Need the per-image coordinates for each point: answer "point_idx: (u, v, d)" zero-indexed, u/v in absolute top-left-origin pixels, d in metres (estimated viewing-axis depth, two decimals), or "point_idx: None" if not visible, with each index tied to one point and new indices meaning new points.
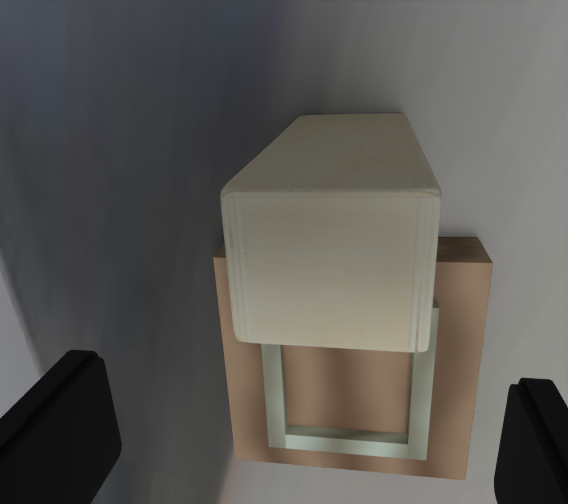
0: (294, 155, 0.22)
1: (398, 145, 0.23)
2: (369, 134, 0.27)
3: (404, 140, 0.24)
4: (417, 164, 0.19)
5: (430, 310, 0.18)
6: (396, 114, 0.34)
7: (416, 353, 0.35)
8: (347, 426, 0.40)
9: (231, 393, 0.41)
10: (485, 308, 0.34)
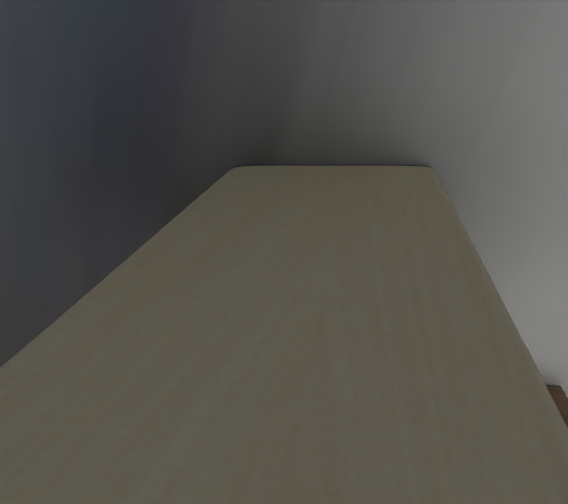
0: (44, 462, 0.05)
1: (465, 378, 0.06)
2: (362, 267, 0.10)
3: (473, 326, 0.08)
4: None
5: None
6: (418, 171, 0.17)
7: None
8: None
9: None
10: None
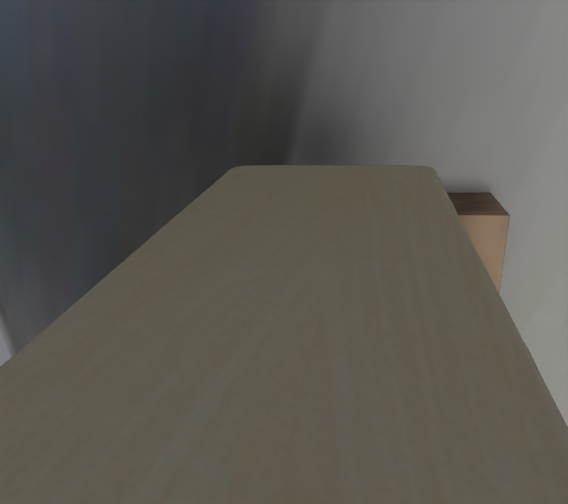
0: (44, 461, 0.05)
1: (465, 378, 0.06)
2: (362, 266, 0.10)
3: (473, 325, 0.08)
4: None
5: None
6: (418, 171, 0.17)
7: None
8: None
9: None
10: (500, 269, 0.30)
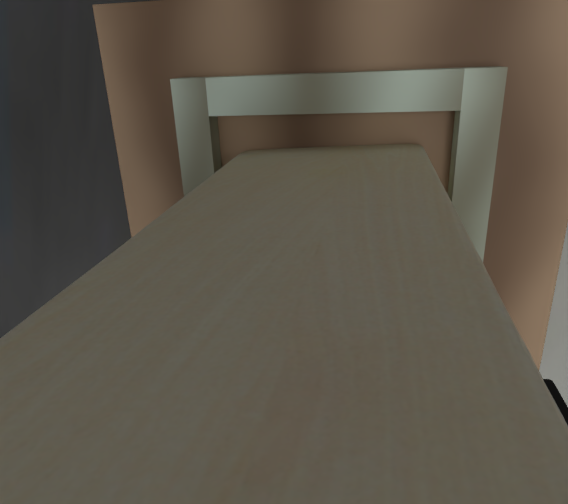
0: (121, 325, 0.07)
1: (427, 272, 0.08)
2: (354, 213, 0.12)
3: (439, 243, 0.10)
4: (533, 458, 0.05)
5: None
6: (408, 147, 0.19)
7: (459, 171, 0.19)
8: None
9: None
10: None
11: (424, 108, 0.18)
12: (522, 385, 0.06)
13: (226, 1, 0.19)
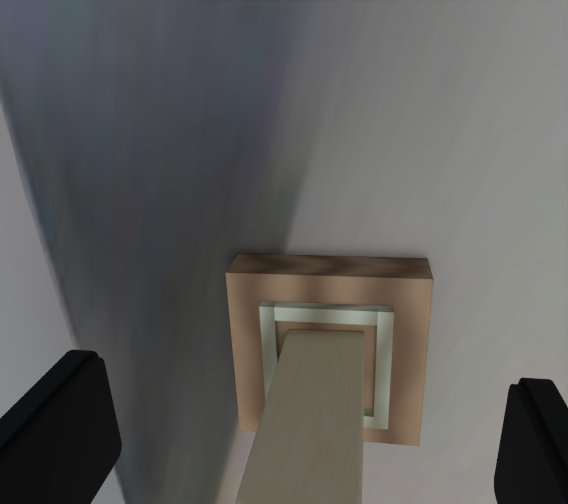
0: (279, 437, 0.35)
1: (347, 422, 0.36)
2: (331, 391, 0.40)
3: (352, 409, 0.37)
4: (352, 466, 0.32)
5: None
6: (357, 336, 0.47)
7: (378, 346, 0.47)
8: None
9: (237, 377, 0.53)
10: (429, 312, 0.46)
11: (363, 323, 0.46)
12: (355, 454, 0.33)
13: (282, 276, 0.47)
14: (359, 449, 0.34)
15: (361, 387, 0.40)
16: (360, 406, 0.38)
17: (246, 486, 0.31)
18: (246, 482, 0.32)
